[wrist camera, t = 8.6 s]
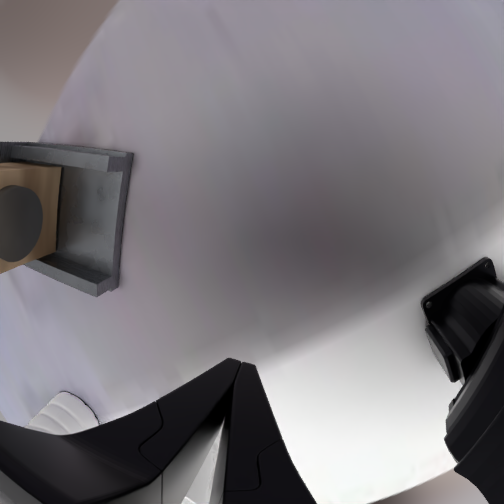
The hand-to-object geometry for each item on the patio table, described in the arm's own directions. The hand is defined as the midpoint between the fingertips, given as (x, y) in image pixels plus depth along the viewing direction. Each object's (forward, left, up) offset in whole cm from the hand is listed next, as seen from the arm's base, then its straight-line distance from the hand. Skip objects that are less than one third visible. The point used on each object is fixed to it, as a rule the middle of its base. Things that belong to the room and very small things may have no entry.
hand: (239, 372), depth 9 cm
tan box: (+14, -14, -11) cm, 22 cm away
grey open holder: (+13, -13, -12) cm, 22 cm away
